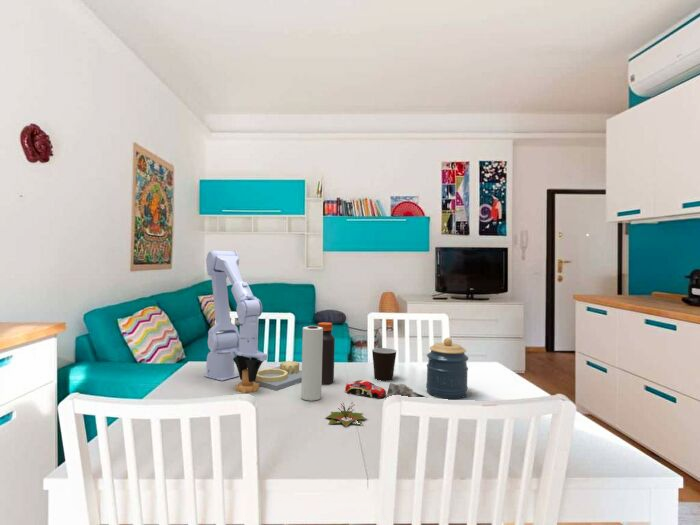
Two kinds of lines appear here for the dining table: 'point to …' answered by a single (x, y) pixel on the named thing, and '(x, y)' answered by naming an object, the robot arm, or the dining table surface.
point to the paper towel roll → (312, 363)
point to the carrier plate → (279, 384)
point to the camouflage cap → (401, 391)
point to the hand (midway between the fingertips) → (247, 380)
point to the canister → (447, 370)
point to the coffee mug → (383, 363)
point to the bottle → (327, 353)
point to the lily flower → (345, 414)
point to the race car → (365, 389)
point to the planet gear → (246, 383)
